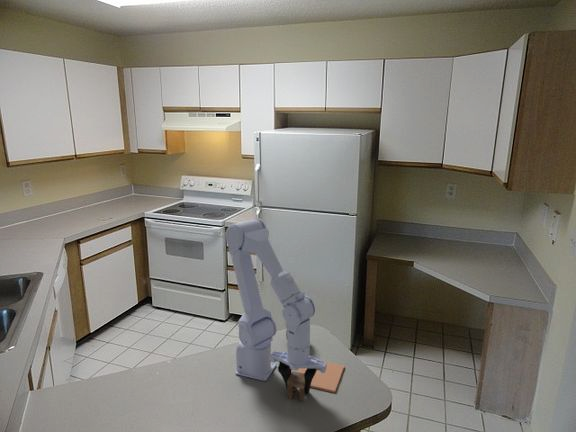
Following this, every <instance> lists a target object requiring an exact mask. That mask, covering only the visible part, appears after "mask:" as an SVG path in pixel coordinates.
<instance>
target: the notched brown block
mask: <svg viewBox="0 0 576 432" xmlns="http://www.w3.org/2000/svg"><path fill="white" fill-rule="evenodd" d="M297 389H298V390H299V391H298V393H299V394H298V401H299V402H303V403H304V402H305V400H306V394H305V378H304V373H299V372H297V371H296V370H293V371H292V372H291V375H290V377H289V379H288V381H287V389H286V398H287V399H291V400H292V399H293V397H294V392H295V391H296V392H297Z"/></svg>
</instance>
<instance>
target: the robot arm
mask: <svg viewBox="0 0 576 432" xmlns="http://www.w3.org/2000/svg"><path fill="white" fill-rule="evenodd" d="M267 228H268V227H267V226H266V224H265V222H264V221H263V220H262V219H261V218H258V217H256V218H253V219H250V220H245V221H241V222H237V223H231V224H229V226H228V227H227V229H226V231H225V233H224V235H225V240H226V244H227V248H228V251H229V253H228V254H230V257H231V262H232V265H233V266H232V267H233V270H234V274H235V278H236V282H237V283H236V284H237V288H238V291H239V296H240V300H241V305H242V308H243V313H242V315H241V317H240V318H239V320H238V321H237V325H238V338H239V341H238V343H237V347H236V354H235V355H236V356H235V358H236V360H235V361H236V371H235V375H238V376H243V377H247V378H251V379H254V380H255V379H256V380H259V381H264V382H265V381H267V380H268V379H269V377H270V375H271V374H272V372H273V371H274V369H275V368H276V366H277V364H276V363H277V362H279V364H278V367H277V371H278V372H279V374H280V375H281V377H282V379H283V382H284V385H285V389H286V390H287V381H288V379H289V377H290V375H291V373H292V372H293V371H298V370H299V368H307V370H306V371H305V373H304V378H305V395H309V393H310V390H311V387H310V386H311V382H312V379H313V377H314V375H315V373H316V371H317V370H319V371H321V373H325V371H326V367H327V362H328V361H325V362H323V361H324V360H320V359H318V358H315V357H314V356H312V355H310V354H311V353H310V349H311V348H310V346H311V345H310V344H311V343H310V342H311V339H310V338H311V319H312V317H313V316H314V315H315V312H316V306H315V303H314V301H313V299H312V298H311V297H310V296H308V295H306V294H305V292H303V291H301V290H300V288H299V286H298V284H297V283H296V280H294V277H293V276H292V275H291V272H288V271H286V270H284V269H283V268H282V265H281V263H280V261H279V259H278V257H277V255H276V253H275V251H274V249H273V247H272V245H271V243H270V240H269V237H270V232H269V230H268V229H267ZM252 253H253V254H255V255H256V256H257V258H258V259H259V261H260V262H261V264H262V265H263V267H264V268H265V270H266V271H267V273H268V274H269V275H270V277H271V280H270V287H271V288H272V289H273V292H274V293H275V295H276V297H277V299H278V300H279V302H280V303H281V305H282V307H283V310H282V311H281V313H282V317H283V319H284V321H285V328H286V331H287V338H286V341H287V342H286V345H287V346H286V347H287V348H286V349H287V351H273V352H272V346H271V345H272V344H271V343H272V341H274V340H273V339H274V338H273V337H274V336H276V334H277V331H278V330H277V329H278V328H277V325H276V324H277V323H276V321H275V320H274V318H273V315H272V312H271V311H270V310H268V309H266V308H264V306H263V304H262V303H263V302H262V298H261V294H260V290H259V285H258V282H257V277H256V272H255V268H254V264H253V260H252V255H251V254H252ZM271 352H272V353H271ZM292 370H293V371H292Z"/></svg>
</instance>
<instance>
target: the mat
mask: <svg viewBox="0 0 576 432" xmlns="http://www.w3.org/2000/svg"><path fill="white" fill-rule="evenodd" d="M322 361H323V362H327V367H326V371H325V373H321V371H319V370H317V371H316V373H315V375H314V377H313V379H312V382H311V386H310V388H313V389H316V390H320V391H326V392H328V393H336V392H337V391H336V390H337V388H338V386H339V383H340V380H341V377H342V375H343V372H344V369H345V365H344V364H340V363H334V362H329V361H324V360H322ZM306 370H307V368H299V369H298V370H296V372H299V373H305V371H306Z"/></svg>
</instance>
